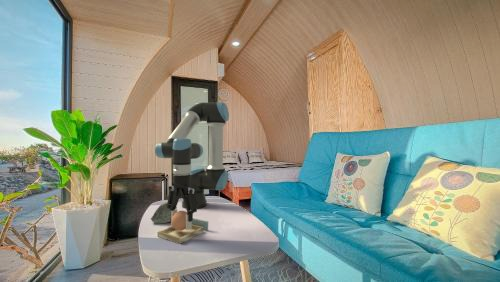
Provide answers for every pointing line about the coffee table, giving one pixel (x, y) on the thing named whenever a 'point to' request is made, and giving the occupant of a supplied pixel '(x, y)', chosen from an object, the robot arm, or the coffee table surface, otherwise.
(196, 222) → the wall
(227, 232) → the coffee table surface
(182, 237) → the tray
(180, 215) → the ball
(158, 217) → the stone
